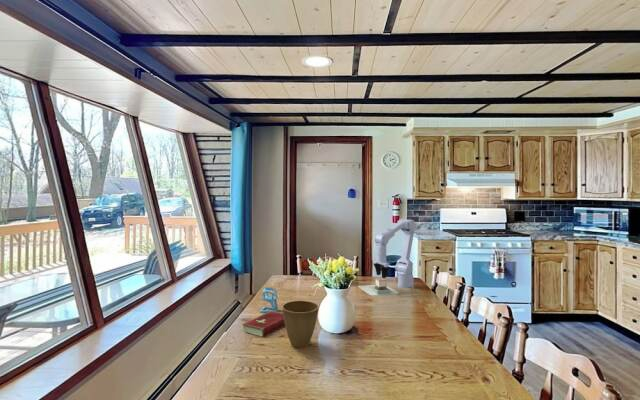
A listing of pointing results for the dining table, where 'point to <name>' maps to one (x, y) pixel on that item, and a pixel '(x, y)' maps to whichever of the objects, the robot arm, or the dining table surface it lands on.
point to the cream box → (381, 282)
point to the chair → (270, 300)
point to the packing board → (371, 290)
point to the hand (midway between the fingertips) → (381, 276)
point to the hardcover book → (264, 323)
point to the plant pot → (300, 321)
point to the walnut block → (380, 288)
